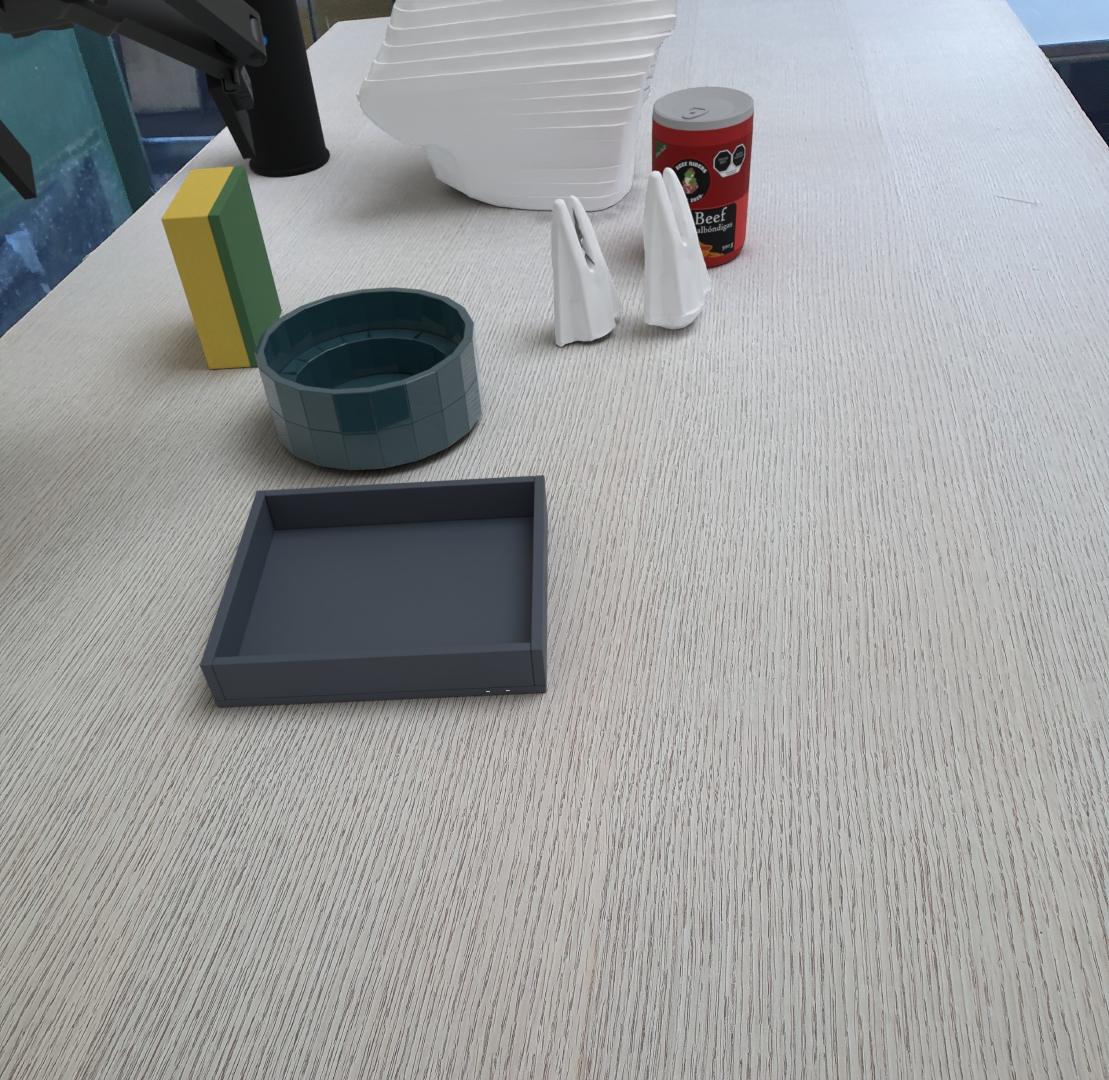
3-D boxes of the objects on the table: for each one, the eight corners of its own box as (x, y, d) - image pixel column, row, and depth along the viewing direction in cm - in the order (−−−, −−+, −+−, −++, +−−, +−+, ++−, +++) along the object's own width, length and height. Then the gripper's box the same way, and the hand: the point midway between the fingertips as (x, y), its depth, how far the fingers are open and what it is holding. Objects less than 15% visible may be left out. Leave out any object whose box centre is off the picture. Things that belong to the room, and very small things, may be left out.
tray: (216, 707, 56) (199, 665, 54) (269, 531, 66) (256, 490, 64) (546, 692, 55) (542, 649, 53) (547, 516, 66) (544, 474, 63)
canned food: (640, 266, 88) (640, 118, 80) (665, 226, 93) (667, 83, 85) (733, 274, 86) (742, 123, 78) (753, 232, 91) (764, 87, 83)
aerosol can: (303, 140, 114) (253, -96, 99) (345, 159, 109) (299, -85, 95) (235, 163, 111) (172, -78, 96) (275, 183, 106) (215, -66, 91)
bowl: (261, 483, 70) (235, 399, 66) (296, 373, 80) (276, 294, 75) (478, 471, 69) (467, 386, 65) (487, 362, 79) (478, 281, 75)
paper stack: (672, 215, 95) (679, -162, 76) (373, 223, 98) (308, -138, 79) (677, 130, 109) (683, -205, 90) (415, 139, 112) (369, -184, 93)
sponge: (209, 369, 81) (160, 218, 73) (233, 313, 87) (191, 168, 79) (261, 366, 81) (218, 214, 73) (282, 310, 87) (244, 165, 79)
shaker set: (709, 308, 83) (715, 152, 75) (717, 334, 80) (725, 175, 72) (553, 321, 83) (542, 167, 75) (556, 348, 80) (545, 191, 72)
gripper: (-351, -11, 45) (-55, 252, 66) (241, -121, 45) (347, 178, 66) (-374, -179, 45) (-72, 136, 66) (212, -288, 45) (327, 62, 66)
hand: (137, 157), depth 66 cm, fingers open, 13 cm apart
